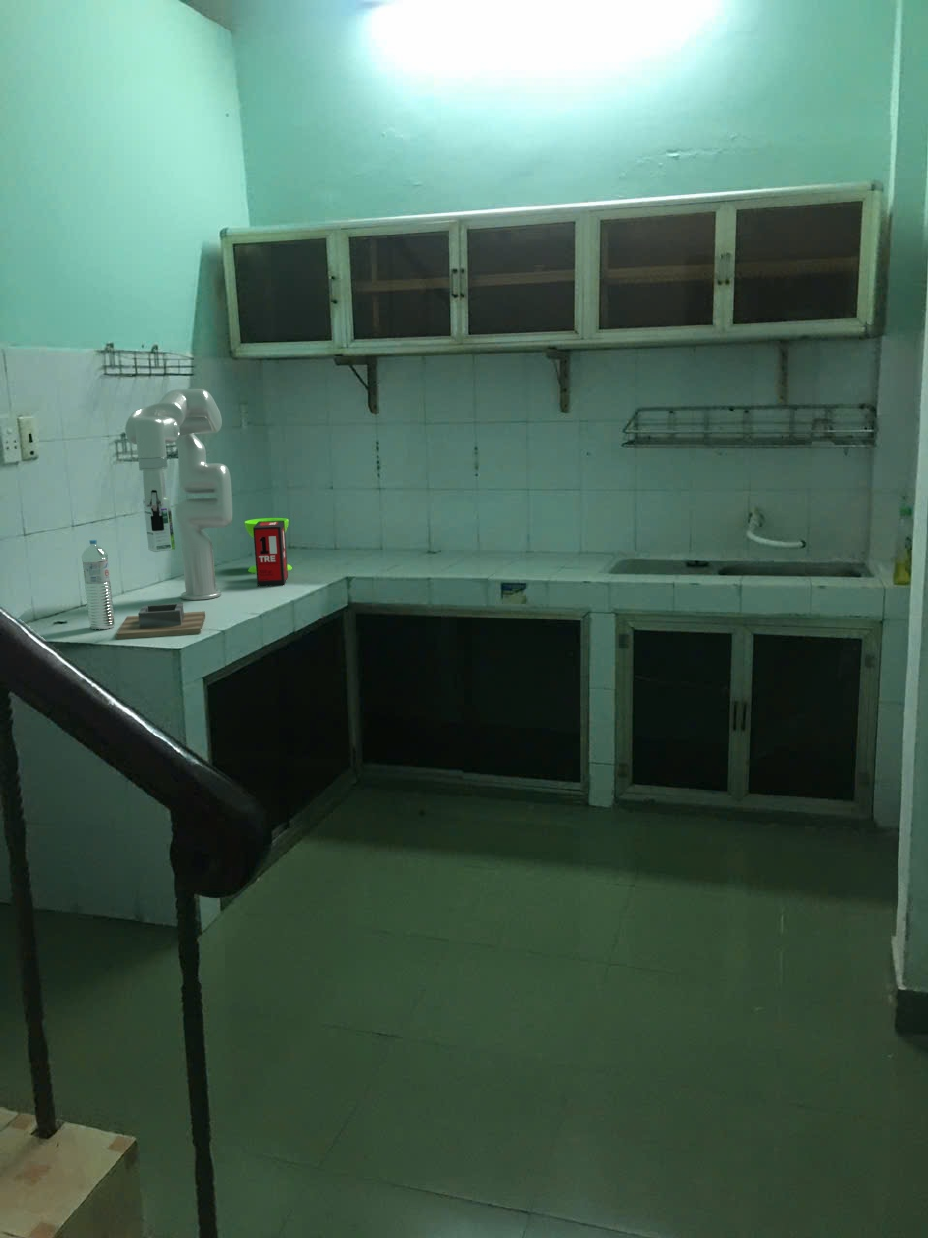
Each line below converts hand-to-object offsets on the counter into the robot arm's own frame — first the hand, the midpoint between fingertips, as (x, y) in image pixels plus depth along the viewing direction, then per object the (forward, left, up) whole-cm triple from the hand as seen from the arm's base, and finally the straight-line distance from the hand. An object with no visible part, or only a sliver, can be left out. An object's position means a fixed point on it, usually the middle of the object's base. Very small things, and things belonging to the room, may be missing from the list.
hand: (159, 528), depth 278 cm
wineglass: (-85, +29, -28) cm, 94 cm away
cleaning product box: (-60, +30, -28) cm, 73 cm away
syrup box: (0, 0, -6) cm, 6 cm away
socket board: (+1, -1, -28) cm, 28 cm away
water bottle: (-4, -18, -28) cm, 34 cm away
